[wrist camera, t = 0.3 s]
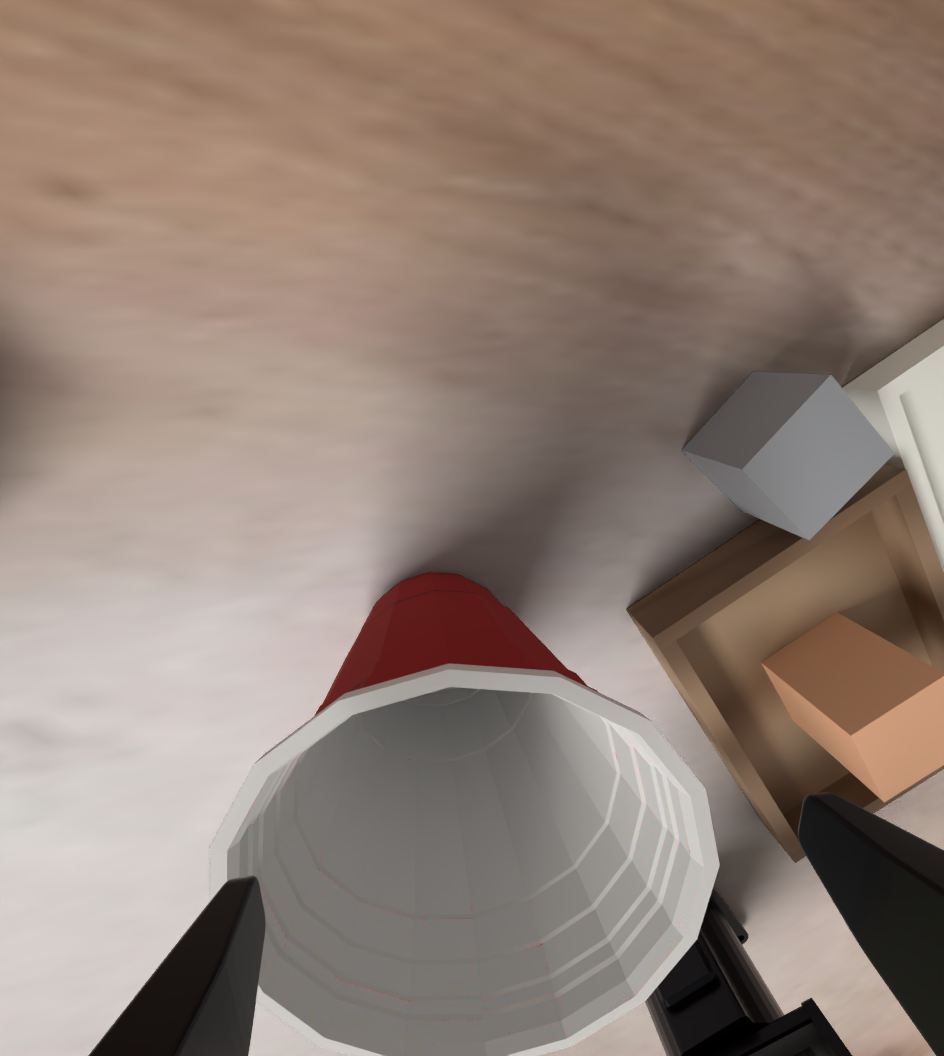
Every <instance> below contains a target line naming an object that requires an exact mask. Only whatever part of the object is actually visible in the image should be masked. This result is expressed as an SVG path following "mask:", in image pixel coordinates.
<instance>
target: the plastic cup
mask: <svg viewBox="0 0 944 1056" xmlns="http://www.w3.org/2000/svg"><path fill="white" fill-rule="evenodd" d="M719 866H720V864H719V858H718V853H717V847H716V842H715V836H714V831H713V826H712V820H711V815H710V809H709V804H708V798H707V793H706V788H705V787H704V786H703V785H702V783H701V782H700V781H699V780H698V778H697V777H696V776H695V775H694V773H693V772H692V771H691V770H690V768H689V767H688V766H687V765H686V763H685V762H684V761H683V760H682V759H681V757H680V756H679V755H678V754H677V752H676V751H675V750H674V749H673V747H672V746H671V745H670V744H669V742H668V741H667V740H666V739H665V737H664V736H663V735H662V734H661V732H660V731H659V730H658V729H657V728H656V726H655V725H654V724H653V723H652V721H650V720H649V719H648V718H646V717H645V716H644V715H642V714H641V713H640V712H638V711H636V710H634V709H632V708H630V707H628V706H626V705H624V704H622V703H619V702H617V701H615V700H613V699H611V698H609V697H607V696H605V695H603V694H601V693H599V692H598V691H597V690H594V689H592V688H590V687H588V686H587V685H586V684H585V683H584V681H583V680H582V679H581V678H580V677H579V676H578V675H577V674H576V673H574V672H572V671H570V670H568V669H567V668H566V667H565V666H564V665H563V664H562V663H561V662H560V661H559V660H558V659H557V658H556V657H555V656H554V655H553V654H552V653H551V652H550V650H549V649H548V648H547V647H546V646H545V645H544V644H543V643H542V642H541V641H540V640H539V639H538V638H537V637H536V636H535V635H534V634H533V633H532V632H531V631H530V630H529V629H528V628H527V627H526V626H525V624H524V623H523V622H522V621H521V620H520V619H519V618H518V617H517V616H516V615H515V614H514V613H513V612H512V611H511V610H510V609H509V608H507V607H505V606H503V605H502V604H501V603H500V602H499V601H498V600H497V599H496V598H495V597H494V596H493V595H492V594H491V593H490V592H489V590H488V589H487V588H485V587H483V586H481V585H479V584H477V583H474V582H472V581H470V580H468V579H466V578H464V577H462V576H460V575H457V574H447V573H430V572H429V573H426V574H422V575H419V576H416V577H413V578H410V579H406V580H403V581H401V582H400V583H399V584H398V585H396V586H395V587H394V588H393V589H391V590H390V591H389V592H388V593H386V594H385V595H384V596H382V597H381V598H380V600H378V601H377V602H376V604H375V605H374V607H373V609H372V611H371V613H370V614H369V616H368V618H367V620H366V622H365V623H364V625H363V627H362V629H361V632H360V634H359V635H358V637H357V639H356V641H355V643H354V644H353V646H352V648H351V650H350V652H349V653H348V655H347V657H346V659H345V661H344V663H343V665H342V667H341V669H340V671H339V672H338V674H337V676H336V678H335V680H334V682H333V684H332V686H331V688H330V690H329V692H328V694H327V696H326V698H325V700H324V702H323V704H322V705H321V706H320V707H319V709H318V711H317V712H316V714H315V716H314V717H313V718H312V719H310V720H309V721H308V722H306V723H305V724H304V725H302V726H301V727H300V728H298V729H297V730H296V731H294V732H293V733H292V734H290V735H289V736H288V737H286V738H285V739H284V740H282V741H281V742H280V743H278V744H277V745H276V746H274V747H273V748H272V749H270V750H269V751H268V752H266V753H265V754H264V755H263V756H262V757H261V758H260V759H259V760H258V761H257V762H256V763H255V764H254V765H253V766H252V768H251V770H250V772H249V774H248V776H247V777H246V779H245V781H244V783H243V785H242V787H241V789H240V790H239V792H238V794H237V796H236V798H235V800H234V801H233V803H232V805H231V807H230V809H229V811H228V813H227V814H226V816H225V818H224V820H223V822H222V824H221V825H220V827H219V829H218V831H217V833H216V835H215V837H214V838H213V840H212V842H211V844H210V846H209V879H210V901H211V900H212V898H213V897H214V896H215V895H216V893H217V892H218V891H219V890H220V888H221V887H222V886H223V885H224V883H226V882H227V881H228V880H230V879H233V878H239V877H246V876H255V877H257V879H258V881H259V885H260V890H261V896H262V901H263V906H264V911H265V919H266V928H265V938H264V945H263V953H262V960H261V967H260V974H259V982H258V989H257V996H256V1003H257V1004H259V1005H260V1006H261V1007H263V1008H264V1009H266V1010H267V1011H268V1012H270V1013H271V1014H272V1015H274V1016H275V1017H277V1018H278V1019H279V1020H281V1021H282V1022H283V1023H285V1024H286V1025H288V1026H289V1027H290V1028H292V1029H293V1030H294V1031H296V1032H297V1033H299V1034H300V1035H301V1036H303V1037H304V1038H306V1039H307V1040H308V1041H310V1042H311V1043H312V1044H314V1045H315V1046H318V1047H321V1048H325V1049H328V1050H331V1051H335V1052H338V1053H342V1054H345V1055H348V1056H539V1055H543V1054H546V1053H550V1052H553V1051H557V1050H561V1049H564V1048H568V1047H571V1046H574V1045H575V1044H577V1043H578V1042H580V1041H582V1040H583V1039H585V1038H587V1037H588V1036H590V1035H591V1034H593V1033H595V1032H596V1031H598V1030H600V1029H601V1028H603V1027H604V1026H606V1025H608V1024H609V1023H611V1022H613V1021H614V1020H616V1019H617V1018H619V1017H621V1016H622V1015H624V1014H626V1013H627V1012H629V1011H630V1010H632V1009H634V1008H635V1007H637V1006H638V1005H640V1004H642V1003H643V1002H645V1001H646V1000H647V999H648V997H649V996H650V995H651V994H652V993H653V991H654V990H655V989H656V988H657V987H658V985H659V984H660V983H661V982H662V981H663V979H664V978H665V977H666V976H667V975H668V973H669V972H670V971H671V970H672V969H673V967H674V966H675V965H676V964H677V963H678V961H679V960H680V959H681V958H682V957H683V955H684V954H685V953H686V952H687V951H688V949H689V948H690V947H691V946H692V945H693V944H694V942H695V941H696V940H697V938H698V935H699V931H700V928H701V925H702V922H703V918H704V915H705V912H706V909H707V905H708V902H709V899H710V896H711V892H712V889H713V886H714V882H715V879H716V876H717V873H718V869H719Z"/></svg>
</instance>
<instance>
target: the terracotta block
mask: <svg viewBox="0 0 944 1056" xmlns="http://www.w3.org/2000/svg"><path fill="white" fill-rule="evenodd" d="M761 663H762V665H763V667H764V669H765V671H766V673H767V674H768V676H769V678H770V680H771V682H772V683H773V685H774V687H775V689H776V691H777V692H778V694H779V696H780V698H781V700H782V702H783V703H784V705H785V707H786V709H787V711H788V712H789V714H790V716H791V718H792V720H793V721H794V722H795V723H796V724H797V725H798V726H800V727H801V728H802V729H803V730H804V731H805V732H806V733H807V734H808V735H810V736H811V737H812V738H813V739H814V740H815V741H816V742H817V743H819V744H820V745H821V746H822V747H823V748H824V749H825V750H826V751H827V752H829V753H830V754H831V755H832V756H833V757H834V758H835V759H836V760H838V761H839V762H840V763H841V764H842V765H843V766H844V767H845V768H846V769H848V770H849V771H850V772H851V773H852V774H853V775H854V776H855V777H856V778H858V779H859V780H860V781H861V782H862V783H863V784H864V785H865V786H867V787H868V788H869V789H870V790H871V791H872V792H873V793H874V794H875V795H877V796H878V797H879V798H880V799H881V800H882V801H883V802H886V801H888V800H889V799H891V798H892V797H894V796H896V795H897V794H899V793H900V792H902V791H903V790H905V789H907V788H908V787H910V786H911V785H913V784H915V783H916V782H918V781H919V780H921V779H922V778H924V777H926V776H927V775H929V774H930V773H932V772H934V771H935V770H937V769H938V768H940V767H941V766H943V765H944V673H943V672H941V671H940V670H938V669H936V668H934V667H933V666H931V665H929V664H927V663H926V662H924V661H922V660H920V659H919V658H917V657H915V656H913V655H912V654H910V653H908V652H906V651H904V650H903V649H901V648H899V647H897V646H896V645H894V644H892V643H890V642H889V641H887V640H885V639H883V638H882V637H880V636H878V635H876V634H875V633H873V632H871V631H869V630H867V629H866V628H864V627H862V626H860V625H859V624H857V623H855V622H853V621H852V620H850V619H848V618H846V617H845V616H843V615H841V614H839V613H836V614H834V615H833V616H831V617H830V618H828V619H827V620H825V621H824V622H822V623H820V624H819V625H817V626H816V627H814V628H813V629H811V630H810V631H808V632H807V633H805V634H804V635H802V636H801V637H799V638H798V639H796V640H795V641H793V642H792V643H790V644H788V645H787V646H785V647H784V648H782V649H781V650H779V651H778V652H776V653H775V654H773V655H772V656H770V657H769V658H767V659H766V660H764V661H763V662H761Z"/></svg>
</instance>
